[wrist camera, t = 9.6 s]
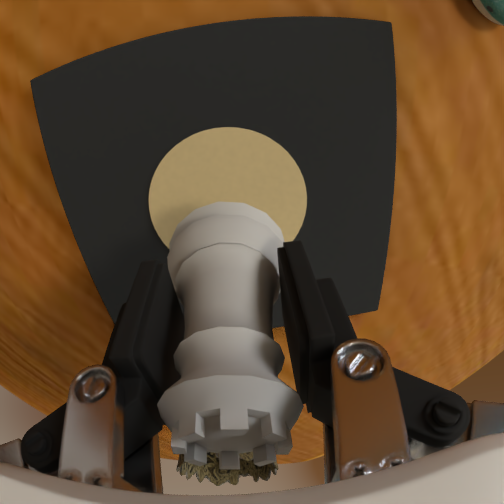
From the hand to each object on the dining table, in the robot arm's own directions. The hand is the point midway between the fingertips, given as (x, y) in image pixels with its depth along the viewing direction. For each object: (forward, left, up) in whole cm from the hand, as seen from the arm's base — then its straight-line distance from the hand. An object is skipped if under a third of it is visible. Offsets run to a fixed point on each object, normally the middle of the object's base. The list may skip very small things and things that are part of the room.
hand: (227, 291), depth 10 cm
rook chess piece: (0, 0, -3) cm, 3 cm away
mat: (0, 0, -7) cm, 7 cm away
